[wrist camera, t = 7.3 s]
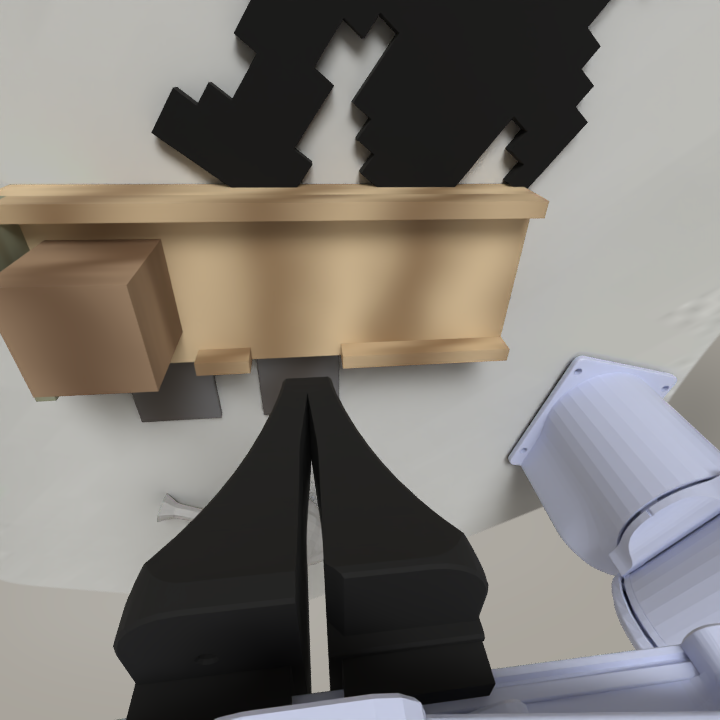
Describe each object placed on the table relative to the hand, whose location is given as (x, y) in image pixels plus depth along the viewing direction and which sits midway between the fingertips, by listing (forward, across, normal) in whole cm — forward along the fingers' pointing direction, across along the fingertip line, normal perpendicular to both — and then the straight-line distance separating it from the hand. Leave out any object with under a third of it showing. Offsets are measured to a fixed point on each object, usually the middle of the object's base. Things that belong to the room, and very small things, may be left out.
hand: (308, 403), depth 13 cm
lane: (+10, +1, +3) cm, 11 cm away
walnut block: (+8, +8, 0) cm, 12 cm away
